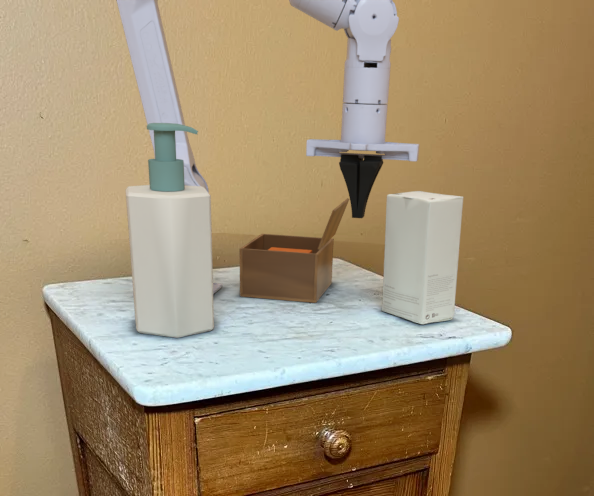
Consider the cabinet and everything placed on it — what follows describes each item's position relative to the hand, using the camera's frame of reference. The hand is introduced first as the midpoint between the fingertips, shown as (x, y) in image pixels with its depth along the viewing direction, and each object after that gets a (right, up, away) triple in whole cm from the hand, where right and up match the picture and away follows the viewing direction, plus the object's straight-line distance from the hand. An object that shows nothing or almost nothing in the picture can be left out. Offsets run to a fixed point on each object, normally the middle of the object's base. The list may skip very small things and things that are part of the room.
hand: (358, 217), depth 105 cm
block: (-10, -8, +6) cm, 14 cm away
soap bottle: (-23, -18, -11) cm, 31 cm away
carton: (-10, -8, +7) cm, 14 cm away
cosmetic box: (+7, -14, -4) cm, 16 cm away
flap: (-3, 0, +1) cm, 3 cm away
